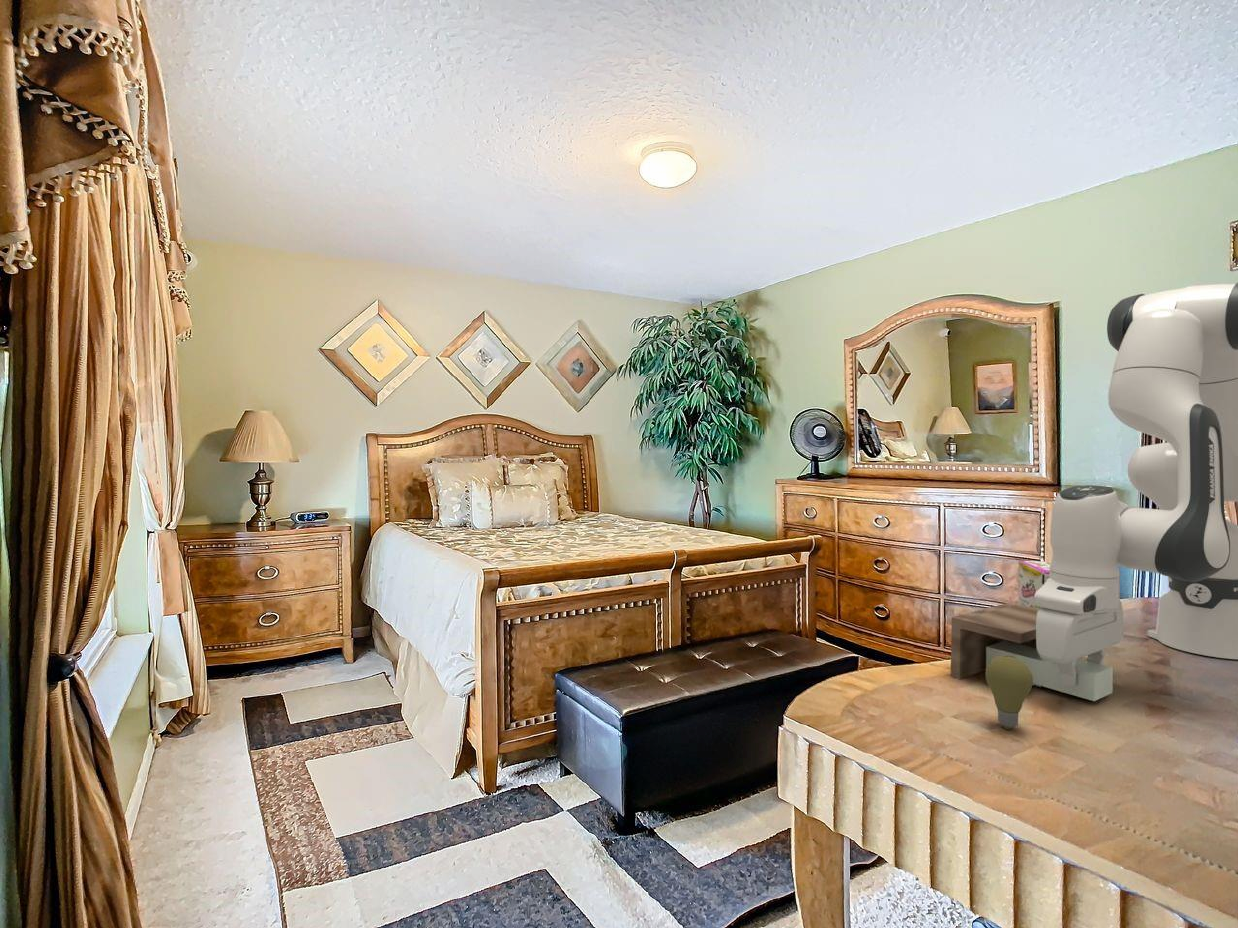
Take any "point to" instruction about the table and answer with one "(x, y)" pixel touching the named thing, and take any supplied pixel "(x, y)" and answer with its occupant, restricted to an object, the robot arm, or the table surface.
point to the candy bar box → (1031, 580)
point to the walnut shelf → (989, 635)
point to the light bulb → (1009, 687)
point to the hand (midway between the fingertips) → (1081, 680)
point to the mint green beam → (1058, 671)
